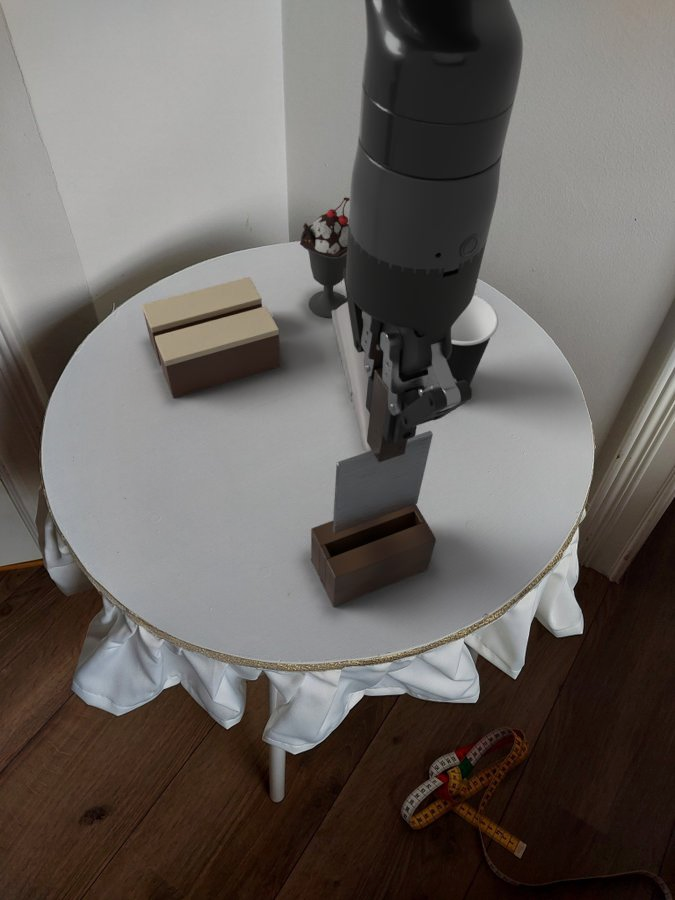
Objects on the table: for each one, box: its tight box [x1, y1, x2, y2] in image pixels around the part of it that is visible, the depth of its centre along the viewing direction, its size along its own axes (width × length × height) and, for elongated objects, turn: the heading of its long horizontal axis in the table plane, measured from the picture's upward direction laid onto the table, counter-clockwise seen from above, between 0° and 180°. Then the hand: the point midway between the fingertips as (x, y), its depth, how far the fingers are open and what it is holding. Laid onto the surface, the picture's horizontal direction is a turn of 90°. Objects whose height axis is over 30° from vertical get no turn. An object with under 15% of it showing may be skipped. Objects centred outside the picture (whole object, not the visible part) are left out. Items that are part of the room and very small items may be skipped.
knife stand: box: [310, 504, 437, 608], centre depth 68 cm, size 10×5×6 cm, turn 114°
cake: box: [141, 276, 281, 399], centre depth 84 cm, size 13×10×6 cm
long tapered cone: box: [331, 302, 371, 453], centre depth 82 cm, size 6×6×19 cm
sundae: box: [299, 197, 350, 319], centre depth 86 cm, size 7×7×15 cm
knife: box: [332, 367, 434, 534], centre depth 56 cm, size 8×2×18 cm, turn 114°
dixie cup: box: [446, 294, 499, 386], centre depth 80 cm, size 8×8×11 cm
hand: (389, 422), depth 52 cm, fingers closed on knife, 2 cm apart
